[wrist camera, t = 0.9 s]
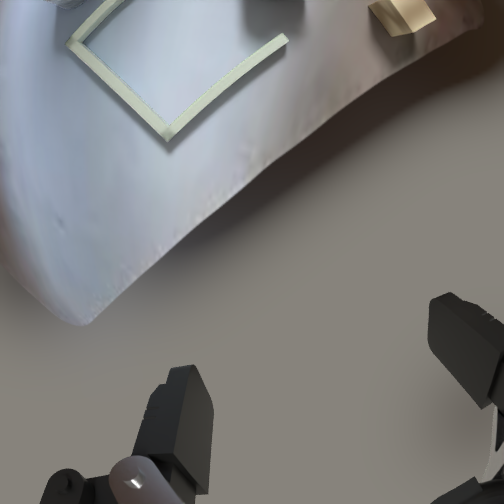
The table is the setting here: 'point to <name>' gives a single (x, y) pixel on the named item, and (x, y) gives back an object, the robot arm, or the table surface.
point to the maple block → (402, 15)
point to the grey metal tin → (66, 3)
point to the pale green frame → (133, 98)
